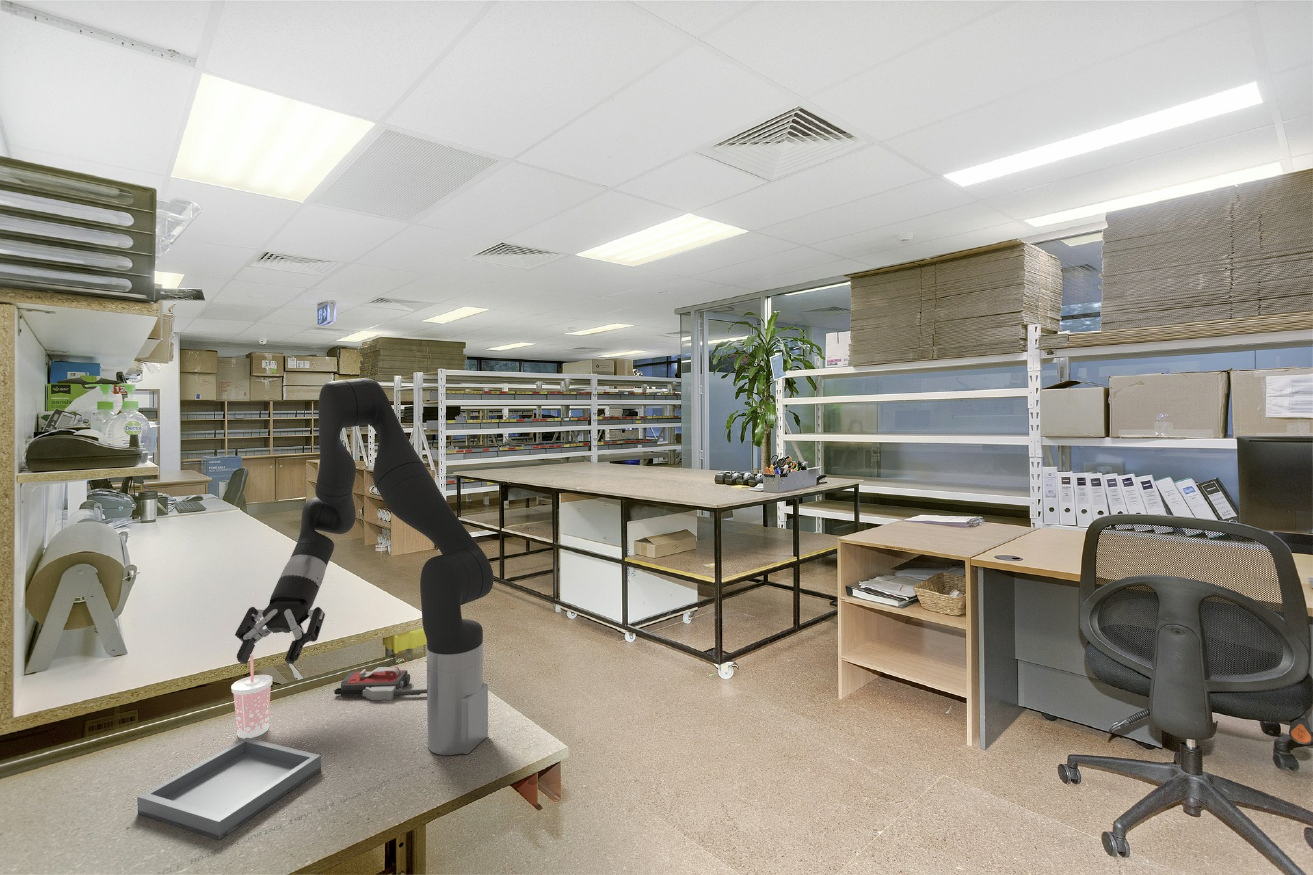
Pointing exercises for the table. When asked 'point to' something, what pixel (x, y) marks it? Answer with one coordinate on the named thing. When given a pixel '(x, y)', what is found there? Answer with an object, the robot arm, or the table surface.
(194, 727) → the table surface
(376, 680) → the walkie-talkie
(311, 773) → the tray
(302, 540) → the robot arm
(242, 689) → the beverage cup
